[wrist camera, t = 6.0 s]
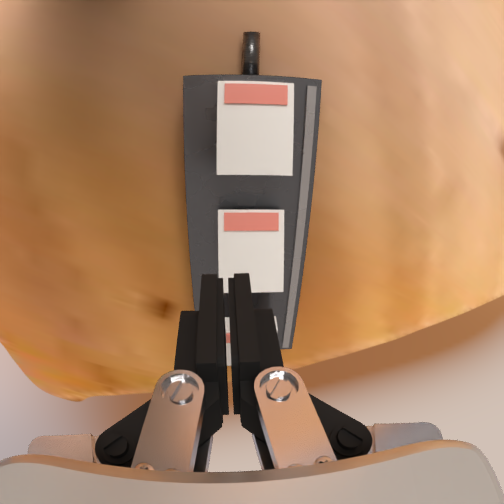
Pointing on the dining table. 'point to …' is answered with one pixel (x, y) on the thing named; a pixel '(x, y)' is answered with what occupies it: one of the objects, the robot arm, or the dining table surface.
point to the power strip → (249, 184)
